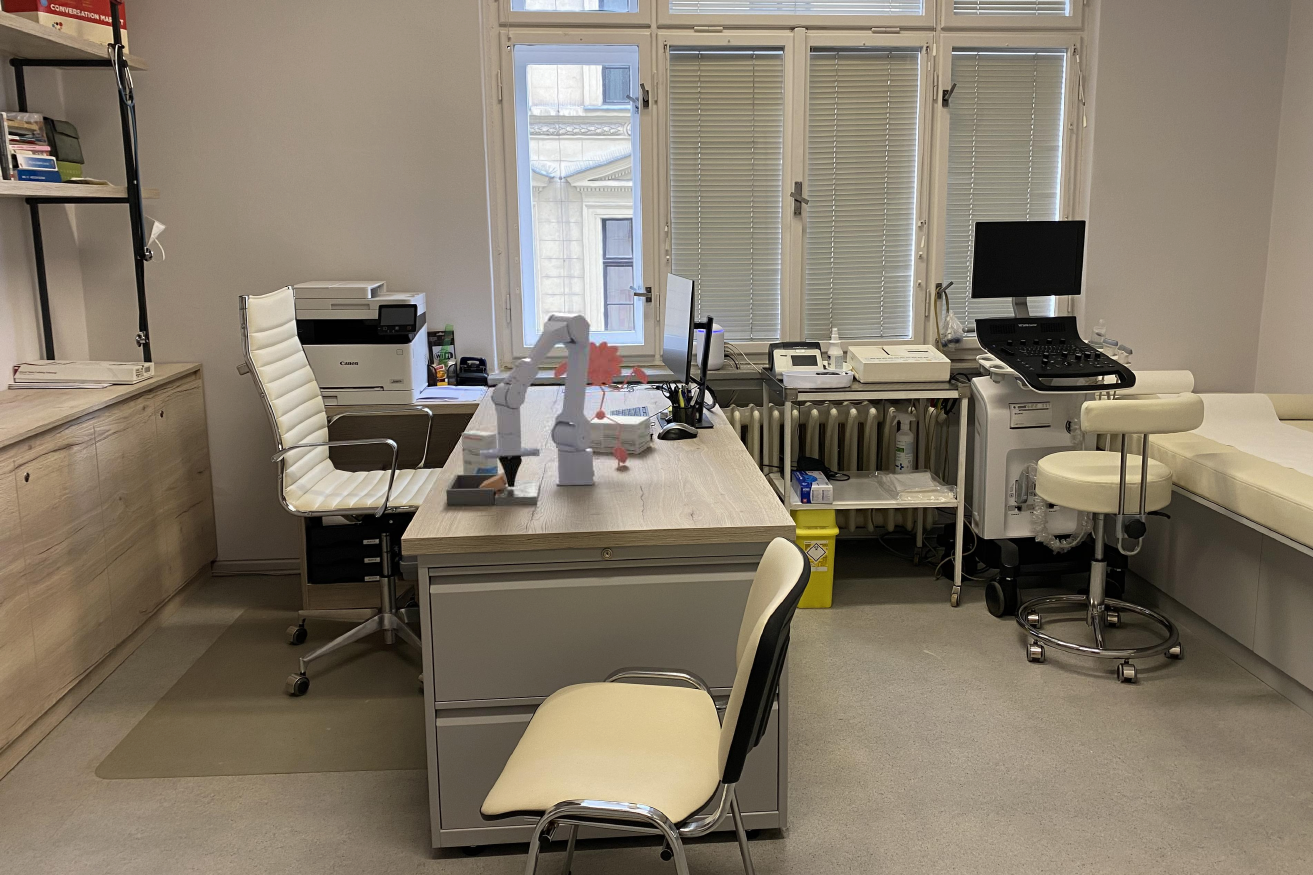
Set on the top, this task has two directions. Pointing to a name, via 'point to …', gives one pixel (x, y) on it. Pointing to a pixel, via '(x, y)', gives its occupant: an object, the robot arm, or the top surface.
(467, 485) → the box
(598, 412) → the figurine
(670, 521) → the top surface
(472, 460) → the ink box
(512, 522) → the top surface
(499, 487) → the tile
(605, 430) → the supplement box
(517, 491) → the grey flat board
